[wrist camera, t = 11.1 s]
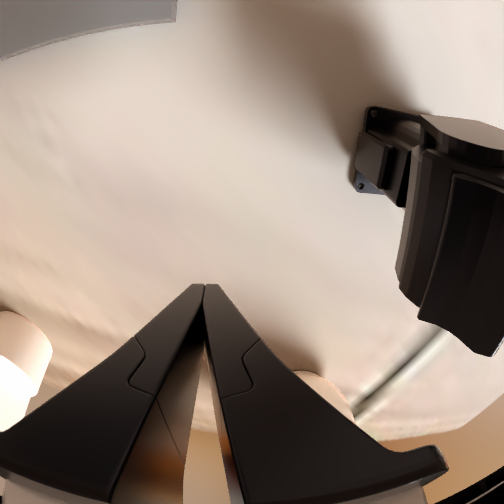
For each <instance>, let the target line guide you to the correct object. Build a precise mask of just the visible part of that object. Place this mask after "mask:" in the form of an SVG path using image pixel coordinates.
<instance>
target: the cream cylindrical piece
mask: <svg viewBox="0 0 504 504" xmlns="http://www.w3.org/2000/svg"><path fill="white" fill-rule="evenodd" d="M51 355H52V346H51V344H50V342H49V340H48V339H47V337H46V336H45V335H44V333H43V332H42V331H41V330H40V329H39V328H38V327H37V326H35V325H34V324H33V323H32V322H30V321H29V320H27V319H26V318H24V317H23V316H21V315H18V314H16V313H14V312H10V311H1V312H0V431H2V432H3V431H5V430H7V429H9V428H10V427H11V426H13V425H14V424H16V423H17V422H18V421H20V420H21V419H23V418H24V415H25V412H26V409H27V406H28V403H29V400H30V398H31V397H32V396H35V395H37V392H38V390H39V387H40V384H41V381H42V379H43V376H44V373H45V371H46V368H47V366H48V363H49V361H50V358H51Z"/></svg>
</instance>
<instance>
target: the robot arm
mask: <svg viewBox="0 0 504 504" xmlns="http://www.w3.org/2000/svg"><path fill="white" fill-rule="evenodd" d="M372 110H374V111H375V114H374V115H373V116H372V115H371V111H372ZM354 167H355V168H356V171H355V177H354V182H353V187H354V189H355V190H356V191H357V192H360V193H371V194H381V195H386V196H387V197H388V198H389V199H390V200H391V201H392V202H393V203H394V204H395V205H396V206H397V207H402V208H403V209H404V210H405V215H404V221H403V228H402V234H401V239H400V245H399V250H398V255H397V261H396V266H395V270H396V274H397V277H398V280H399V282H400V283H399V289H400V290H401V291H402V293H403V294H404V295H405V296H406V297H407V298H408V299H409V300H410V301H411V302H412V303H414V304H415V305H416V306H417V307H419V308H420V309H419V312H418V315H417V318H418V319H419V320H422V321H425V322H428V323H432V324H435V325H437V326H439V327H441V328H443V329H445V330H447V331H449V332H450V333H452V334H453V335H454V336H456V337H457V338H458V339H459V340H461V341H462V342H463V343H464V344H465V345H466V346H467V347H468V348H470V349H471V350H472V351H473V352H474V353H477V354H480V355H484V356H487V357H492V356H494V355H495V354H496V352H497V351H498V349H499V347H500V346H501V344H502V343H503V341H504V130H502V129H499V128H497V127H494V126H491V125H488V124H485V123H482V122H479V121H475V120H468V119H461V118H453V117H444V116H434V115H423V114H420V115H419V116H416V115H413V114H409V113H404V112H400V111H396V110H391V109H387V108H382V107H377V106H368V107H367V108H366V111H365V117H364V124H363V130H362V132H361V133H360V134H359V139H358V145H357V151H356V157H355V162H354ZM360 183H362V186H361V187H358V185H359V184H360ZM204 348H205V349H206V357H207V365H208V372H209V379H210V386H211V393H212V399H213V406H214V412H215V418H216V424H217V430H218V436H219V442H220V447H221V453H222V458H223V463H224V468H225V474H226V479H227V485H228V490H229V495H230V501H231V504H428V503H427V499H426V496H425V492H424V489H423V486H424V485H426V484H428V483H430V482H431V481H433V480H435V479H437V478H438V477H440V476H442V475H443V474H445V473H446V472H447V471H448V470H449V467H448V465H447V462H446V459H445V457H444V456H443V454H442V452H441V450H440V449H439V447H438V446H437V445H426V446H422V447H419V448H416V449H413V450H410V451H405V452H394V451H391V450H388V449H387V448H385V447H383V446H382V445H381V444H379V443H378V442H377V441H376V440H374V439H373V438H372V437H371V436H369V435H368V434H367V433H365V432H364V431H363V430H362V429H360V428H359V427H358V426H357V425H355V424H354V423H353V422H352V421H351V420H349V419H348V418H347V417H346V416H344V415H343V414H342V413H341V412H340V411H338V410H337V409H336V408H335V407H334V406H332V405H331V404H330V403H329V402H328V401H326V400H325V399H324V398H323V397H322V396H321V395H319V394H318V393H317V392H316V391H315V390H314V389H312V388H311V387H310V386H309V385H308V384H307V383H305V382H304V381H303V380H302V379H301V378H300V377H299V376H297V375H296V374H295V373H294V372H293V371H292V370H291V369H289V368H288V367H287V366H286V365H285V364H284V363H283V362H282V361H281V360H280V359H279V358H278V357H277V356H276V355H275V354H274V353H273V352H272V350H271V349H270V348H269V347H268V346H267V345H266V343H265V342H264V341H263V340H261V338H260V336H259V335H258V334H257V333H256V332H255V330H254V329H253V328H252V327H251V325H250V324H249V323H248V322H247V320H246V319H245V318H244V317H243V315H242V314H241V313H240V312H239V310H238V309H237V308H236V306H235V305H234V304H233V303H232V301H231V300H230V299H229V298H228V296H227V295H226V294H225V292H224V291H223V290H222V289H221V287H220V286H219V285H218V284H206V285H204V284H192V285H190V286H189V287H188V288H187V289H186V290H185V291H184V292H182V293H181V294H180V295H179V296H178V297H177V298H176V299H175V300H173V301H172V302H171V303H170V304H169V305H168V306H167V307H166V308H164V309H163V310H162V311H161V312H160V313H159V314H158V315H157V316H155V317H154V318H153V319H152V320H151V321H150V322H149V323H148V324H147V325H145V326H144V327H143V328H142V329H141V330H140V331H139V332H138V333H137V334H135V335H134V337H132V338H130V339H129V340H128V341H127V342H126V343H125V344H124V345H122V346H121V347H120V348H119V349H118V350H117V351H115V352H114V353H113V354H112V355H110V356H109V357H108V358H106V359H105V360H104V361H102V362H101V363H100V364H98V365H97V366H96V367H94V368H93V369H91V370H90V371H89V372H87V373H86V374H84V375H83V376H82V377H80V378H79V379H77V380H76V381H75V382H73V383H72V384H70V385H69V386H68V387H66V388H65V389H63V390H62V391H61V392H59V393H58V394H56V395H55V396H54V397H52V398H51V399H49V400H48V401H47V402H45V403H44V404H42V405H41V406H40V407H38V408H37V409H35V410H34V411H33V412H31V413H30V414H29V415H27V416H25V417H24V418H23V419H21V420H20V421H18V422H17V423H16V424H14V425H13V426H11V427H10V428H9V429H7V430H5V431H3V432H0V476H1V477H3V478H5V485H4V489H3V495H2V496H0V504H183V476H184V468H185V461H186V455H187V449H188V442H189V436H190V430H191V424H192V418H193V412H194V406H195V400H196V394H197V388H198V383H199V377H200V371H201V366H202V360H203V354H204ZM435 504H504V466H503V467H501V468H500V469H498V470H497V471H495V472H493V473H492V474H490V475H489V476H487V477H485V478H484V479H482V480H480V481H478V482H477V483H475V484H473V485H471V486H469V487H468V488H466V489H464V490H462V491H460V492H458V493H456V494H454V495H452V496H450V497H448V498H446V499H444V500H441V501H439V502H437V503H435Z"/></svg>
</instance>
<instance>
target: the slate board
mask: <svg viewBox="0 0 504 504" xmlns="http://www.w3.org/2000/svg"><path fill="white" fill-rule="evenodd" d="M176 7H177V0H0V61H2V60H4V59H7V58H9V57H12V56H15V55H17V54H20V53H23V52H26V51H29V50H32V49H35V48H38V47H41V46H44V45H48V44H51V43H54V42H58V41H62V40H65V39H69V38H73V37H77V36H82V35H86V34H91V33H95V32H101V31H106V30H111V29H117V28H124V27H130V26H138V25H146V24H156V23H167V22H176Z"/></svg>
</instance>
